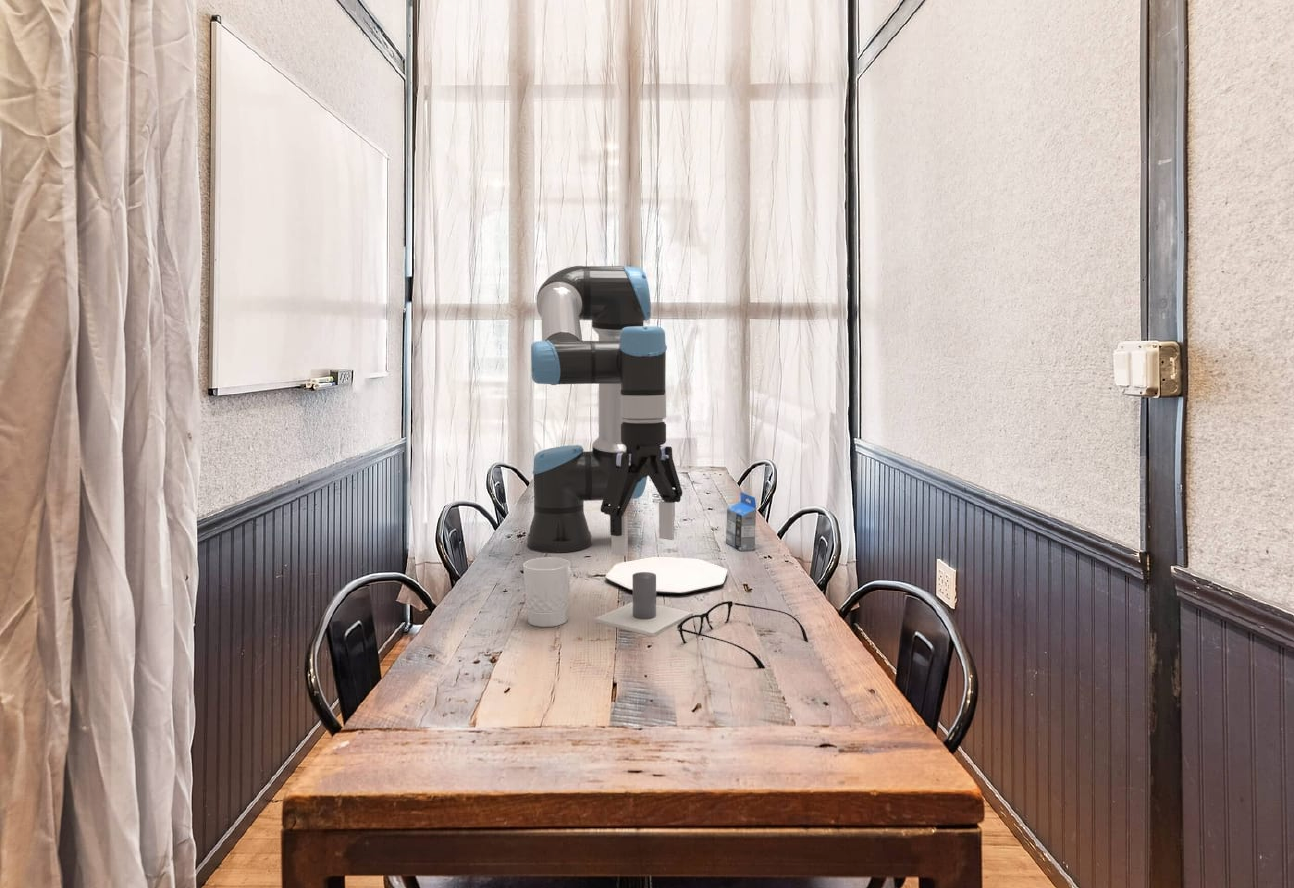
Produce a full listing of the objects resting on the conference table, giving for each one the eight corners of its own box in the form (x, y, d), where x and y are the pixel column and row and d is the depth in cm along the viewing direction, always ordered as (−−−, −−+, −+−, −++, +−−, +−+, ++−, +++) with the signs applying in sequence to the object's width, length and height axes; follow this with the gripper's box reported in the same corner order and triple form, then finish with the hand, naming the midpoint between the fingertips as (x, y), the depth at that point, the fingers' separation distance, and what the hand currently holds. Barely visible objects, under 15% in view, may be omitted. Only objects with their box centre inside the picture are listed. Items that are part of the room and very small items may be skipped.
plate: (719, 602, 140) (719, 594, 139) (595, 594, 144) (594, 586, 144) (731, 567, 163) (731, 560, 162) (623, 561, 167) (623, 554, 167)
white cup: (563, 630, 125) (561, 570, 123) (517, 627, 126) (516, 568, 125) (577, 614, 132) (576, 558, 131) (533, 611, 134) (532, 556, 133)
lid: (636, 605, 138) (636, 562, 137) (692, 618, 131) (693, 572, 130) (594, 624, 128) (594, 578, 128) (653, 639, 122) (653, 590, 121)
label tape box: (725, 542, 182) (725, 492, 181) (740, 541, 183) (741, 491, 182) (740, 551, 174) (740, 498, 172) (756, 550, 175) (757, 497, 174)
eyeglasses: (730, 619, 130) (730, 597, 130) (814, 641, 120) (814, 617, 120) (671, 648, 118) (671, 623, 117) (760, 675, 108) (760, 648, 107)
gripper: (666, 415, 138) (666, 530, 140) (576, 424, 118) (579, 558, 120) (701, 417, 134) (701, 535, 136) (615, 426, 114) (616, 565, 116)
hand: (644, 546), depth 128 cm, fingers open, 13 cm apart
